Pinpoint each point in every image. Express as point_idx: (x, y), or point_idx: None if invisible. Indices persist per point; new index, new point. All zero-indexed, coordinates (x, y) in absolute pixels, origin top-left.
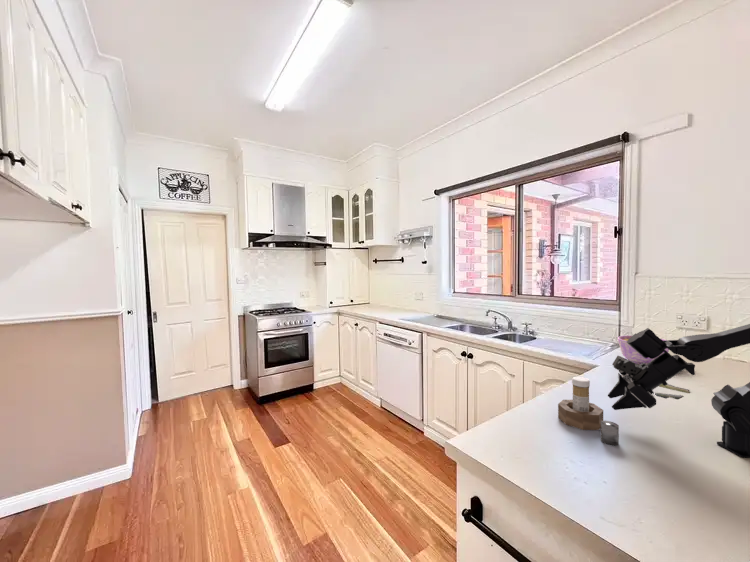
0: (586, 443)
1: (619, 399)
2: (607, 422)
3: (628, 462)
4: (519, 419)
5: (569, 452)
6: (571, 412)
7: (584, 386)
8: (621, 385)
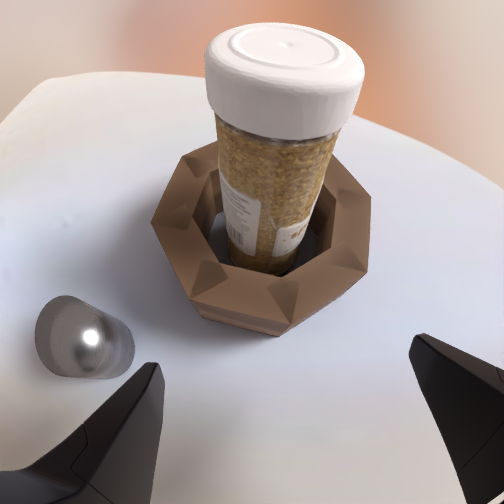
0: (68, 267)
1: (108, 424)
2: (76, 328)
3: (12, 373)
4: (173, 98)
5: (19, 226)
6: (172, 178)
7: (212, 104)
8: (500, 427)
